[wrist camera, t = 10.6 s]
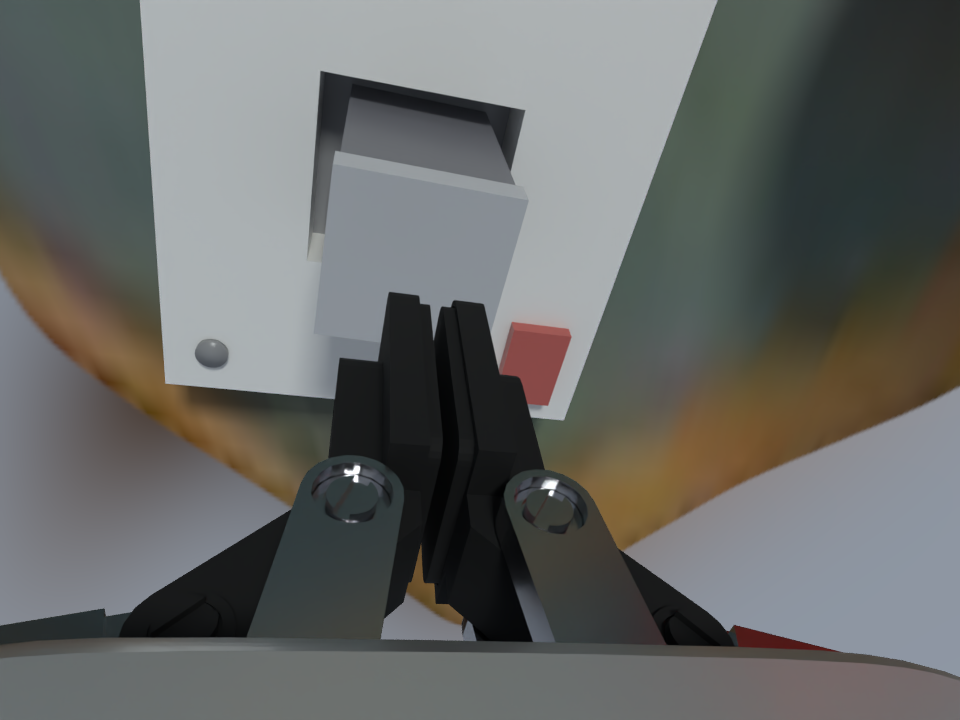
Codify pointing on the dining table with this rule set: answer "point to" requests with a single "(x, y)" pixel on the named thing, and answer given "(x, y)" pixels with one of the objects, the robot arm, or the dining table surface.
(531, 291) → the socket plate
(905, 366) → the dining table surface
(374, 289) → the plug
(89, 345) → the dining table surface
